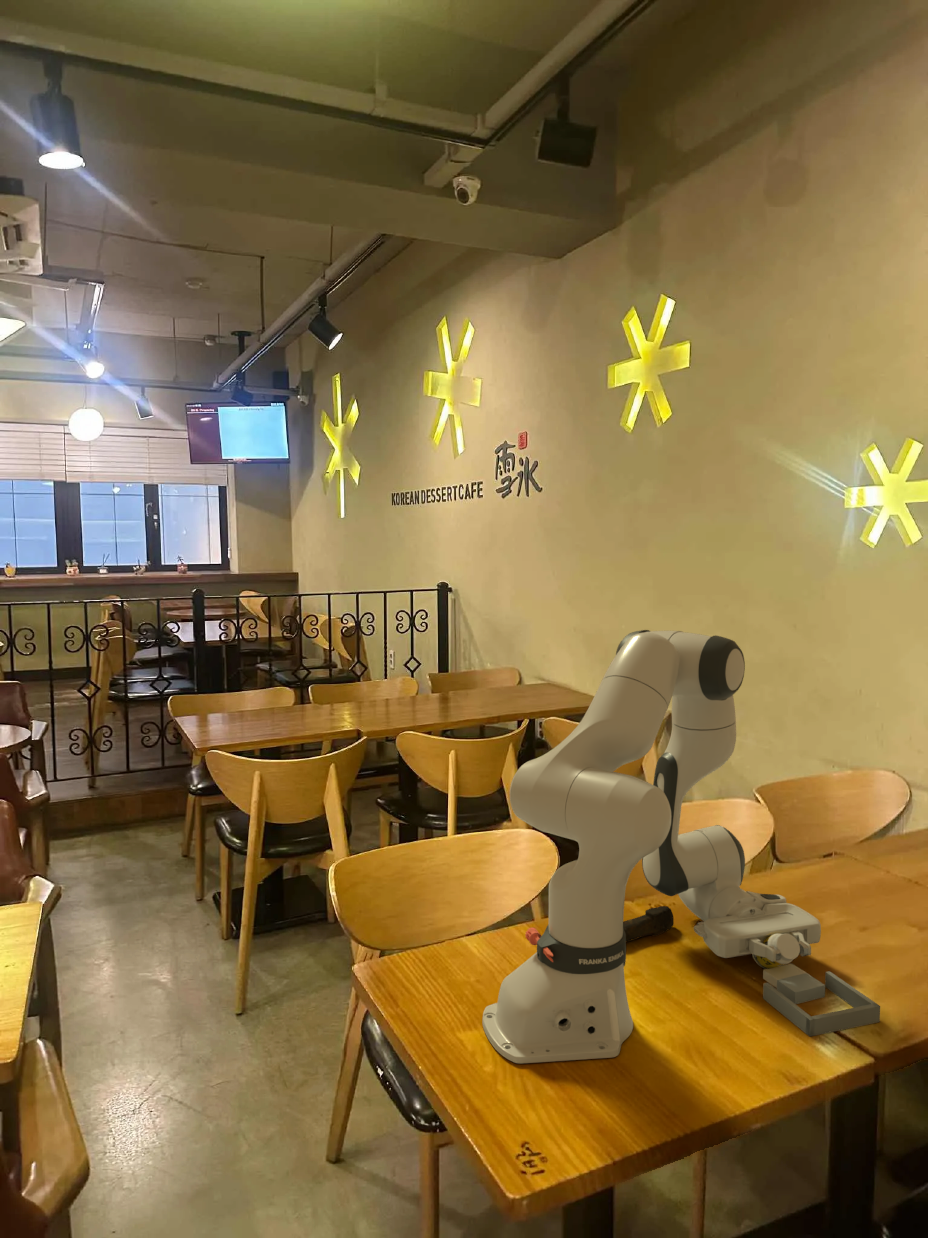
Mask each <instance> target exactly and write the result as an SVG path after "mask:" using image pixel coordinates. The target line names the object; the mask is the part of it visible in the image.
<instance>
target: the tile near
mask: <svg viewBox="0 0 928 1238" xmlns="http://www.w3.org/2000/svg"><path fill="white" fill-rule="evenodd" d="M776 989H777V990H778V991H779V992H780V993H782V994H783V995H784V996H786V997H787V998H788V999H789V1000H791V1001H792V1002H793V1003H795V1004H796V1005H799V1004H801V1003H802V1004H803V1003H806V1002H810V1001H815V1000H819V999H822V998H825V997H826V996H825V995H826V987H825V983H823V982H822V981H820V980H818V979H816V978H815V977H813V976H812V975H810V974H809V973H808V974H807V972H806V973H804V974H800V975H796V976H792V977H788V978H784V979H780V980H777V988H776Z"/></svg>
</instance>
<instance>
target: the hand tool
mask: <svg viewBox="0 0 928 1238" xmlns="http://www.w3.org/2000/svg"><path fill="white" fill-rule="evenodd" d="M674 920H675V919H674V914H673V912H672V909H671V908H670V907H669V906H665V905H660V906H658V907H657V906H656V907H651V908H648V909H646V910H645V913H644V914H643V915H640V916H637V917H634V918H631V919H628V920H625V921H624V920H623V929H624V931H625V934H626V943H627V942H631V941H633V940H637V939H640V938H642V937H645V936H651V937H656V936H657V937H658V936H659V935H662V934H664V933H665V932H667V931H668V929H669V930H670V929H671V928H673V927H674Z"/></svg>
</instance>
